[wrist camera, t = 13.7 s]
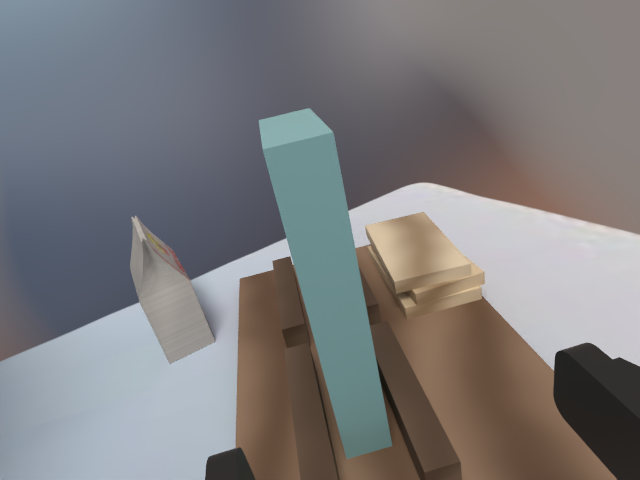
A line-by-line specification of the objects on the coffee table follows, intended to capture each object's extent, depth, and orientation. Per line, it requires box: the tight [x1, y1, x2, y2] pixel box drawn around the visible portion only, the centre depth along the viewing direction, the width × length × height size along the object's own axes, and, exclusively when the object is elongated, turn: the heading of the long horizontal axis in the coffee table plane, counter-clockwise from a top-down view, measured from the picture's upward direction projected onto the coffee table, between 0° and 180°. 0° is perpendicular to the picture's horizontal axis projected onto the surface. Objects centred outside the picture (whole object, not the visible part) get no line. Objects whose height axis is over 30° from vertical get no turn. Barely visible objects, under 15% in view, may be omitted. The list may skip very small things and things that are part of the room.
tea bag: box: [130, 216, 215, 364], centre depth 33 cm, size 4×7×10 cm, turn 29°
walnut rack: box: [236, 244, 617, 480], centre depth 28 cm, size 18×26×3 cm
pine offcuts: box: [365, 212, 485, 319], centre depth 33 cm, size 6×10×3 cm, turn 9°
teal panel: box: [259, 108, 392, 459], centre depth 20 cm, size 2×6×16 cm, turn 9°
